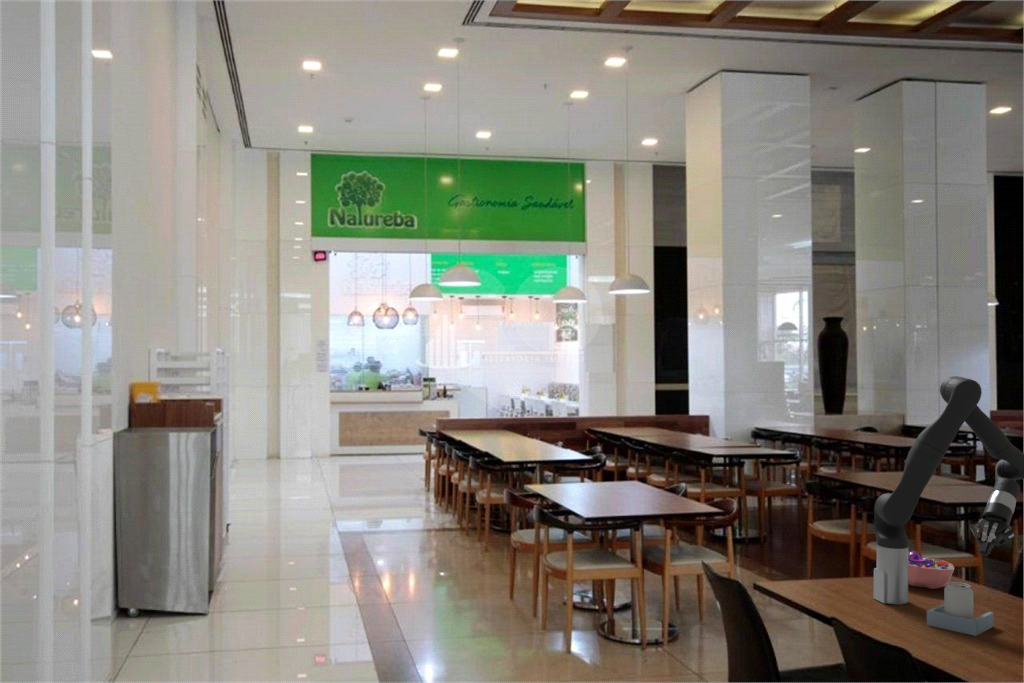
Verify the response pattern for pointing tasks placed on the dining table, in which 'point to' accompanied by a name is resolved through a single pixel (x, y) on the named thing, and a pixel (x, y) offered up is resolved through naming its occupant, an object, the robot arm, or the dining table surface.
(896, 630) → the dining table surface
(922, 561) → the cell model
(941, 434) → the robot arm
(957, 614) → the can
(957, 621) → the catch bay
